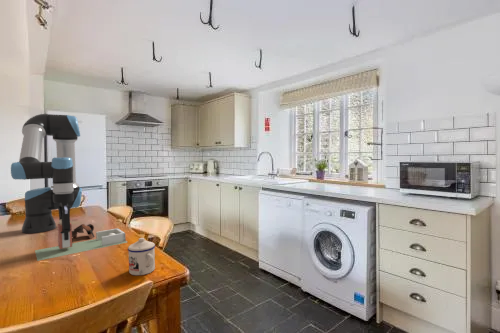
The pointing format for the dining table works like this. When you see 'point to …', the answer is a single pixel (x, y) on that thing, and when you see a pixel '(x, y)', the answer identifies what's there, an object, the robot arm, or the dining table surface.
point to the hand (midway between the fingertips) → (65, 245)
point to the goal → (110, 236)
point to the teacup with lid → (141, 257)
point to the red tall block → (61, 235)
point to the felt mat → (70, 249)
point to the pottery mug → (79, 229)
